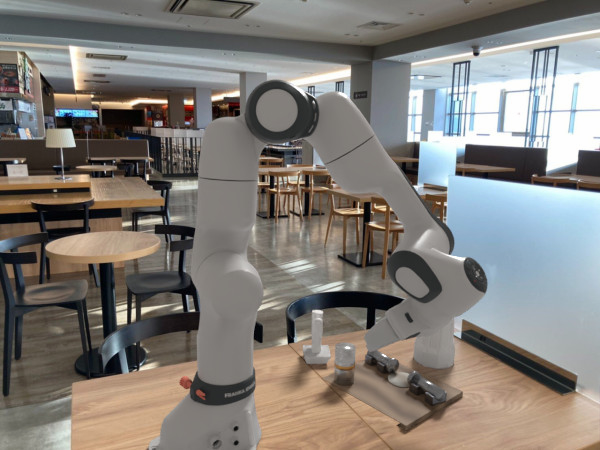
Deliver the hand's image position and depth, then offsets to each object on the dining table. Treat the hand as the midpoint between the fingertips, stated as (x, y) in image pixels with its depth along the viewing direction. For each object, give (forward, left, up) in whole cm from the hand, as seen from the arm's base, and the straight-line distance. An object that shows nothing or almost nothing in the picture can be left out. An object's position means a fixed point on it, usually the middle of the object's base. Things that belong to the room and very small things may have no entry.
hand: (383, 342), depth 109 cm
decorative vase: (+29, +6, -16) cm, 34 cm away
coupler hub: (0, +12, -14) cm, 18 cm away
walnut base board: (+7, +3, -15) cm, 17 cm away
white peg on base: (+2, +25, -16) cm, 29 cm away
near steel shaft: (+10, -5, -14) cm, 18 cm away
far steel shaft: (+13, +11, -14) cm, 22 cm away
